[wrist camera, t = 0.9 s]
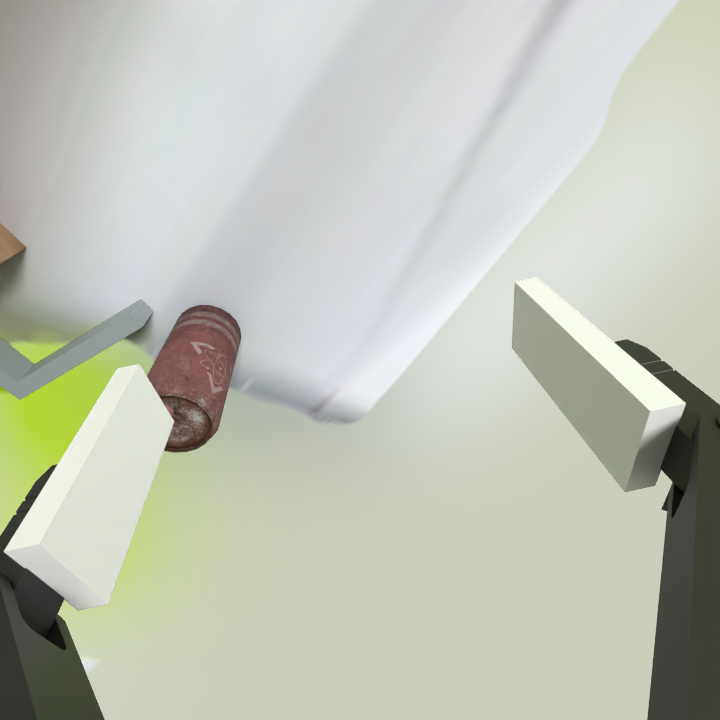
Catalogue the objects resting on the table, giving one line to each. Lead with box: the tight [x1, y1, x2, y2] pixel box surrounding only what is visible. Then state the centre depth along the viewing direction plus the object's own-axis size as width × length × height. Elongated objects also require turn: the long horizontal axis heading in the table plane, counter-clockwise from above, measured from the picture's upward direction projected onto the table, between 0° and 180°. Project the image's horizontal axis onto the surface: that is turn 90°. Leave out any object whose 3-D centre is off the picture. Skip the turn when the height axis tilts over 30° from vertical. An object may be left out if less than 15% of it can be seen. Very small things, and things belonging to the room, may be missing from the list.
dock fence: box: [0, 299, 153, 400], centre depth 36 cm, size 12×15×3 cm
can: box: [147, 305, 241, 452], centre depth 35 cm, size 6×6×14 cm
